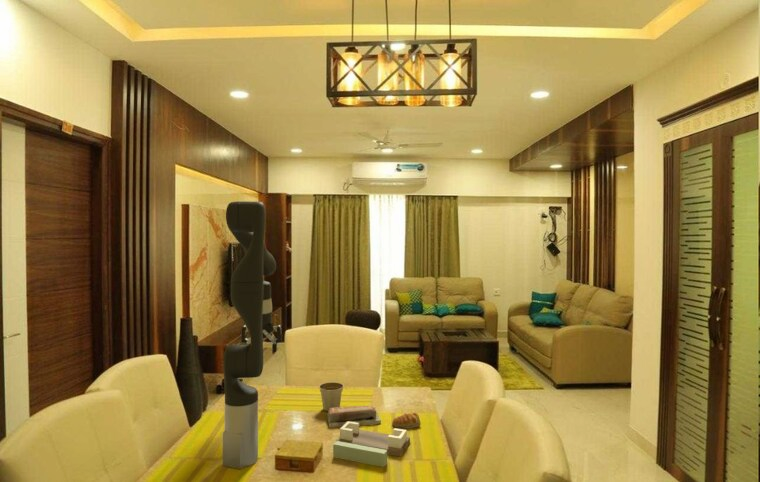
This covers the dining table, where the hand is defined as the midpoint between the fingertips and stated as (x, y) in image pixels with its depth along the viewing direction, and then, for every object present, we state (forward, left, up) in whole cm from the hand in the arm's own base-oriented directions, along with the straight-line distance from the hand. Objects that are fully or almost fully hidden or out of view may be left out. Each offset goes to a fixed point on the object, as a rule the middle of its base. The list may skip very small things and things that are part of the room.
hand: (262, 353), depth 168 cm
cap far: (-10, -39, -21) cm, 45 cm away
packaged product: (+6, -34, -23) cm, 41 cm away
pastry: (+8, -53, -23) cm, 58 cm away
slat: (-21, -47, -22) cm, 56 cm away
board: (-10, -47, -22) cm, 53 cm away
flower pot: (+12, -22, -22) cm, 34 cm away
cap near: (-10, -55, -21) cm, 60 cm away
